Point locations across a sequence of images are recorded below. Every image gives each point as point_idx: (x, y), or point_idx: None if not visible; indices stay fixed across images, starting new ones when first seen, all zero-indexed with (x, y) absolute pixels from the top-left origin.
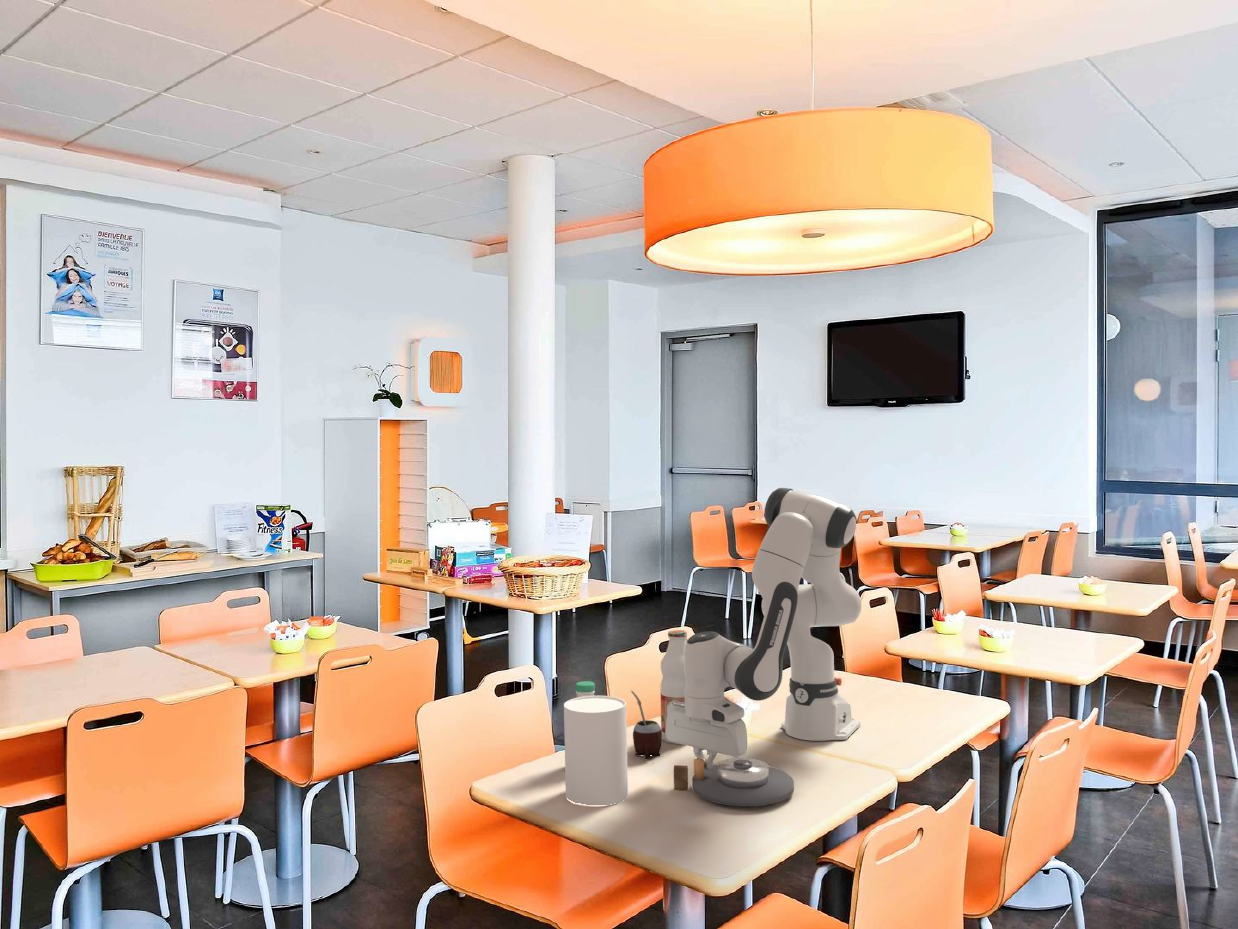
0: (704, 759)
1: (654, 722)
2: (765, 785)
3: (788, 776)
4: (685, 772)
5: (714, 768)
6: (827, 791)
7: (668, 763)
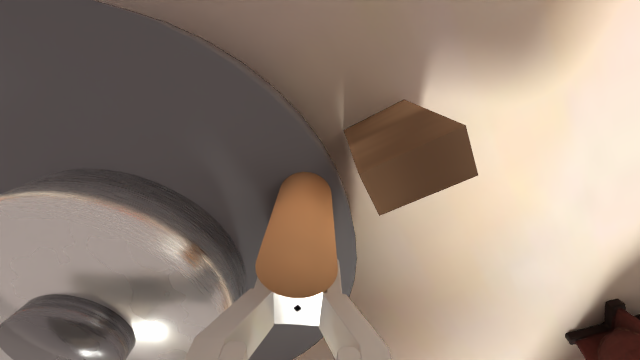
0: (310, 314)
1: None
2: None
3: None
4: (365, 156)
5: None
6: None
7: (522, 307)
